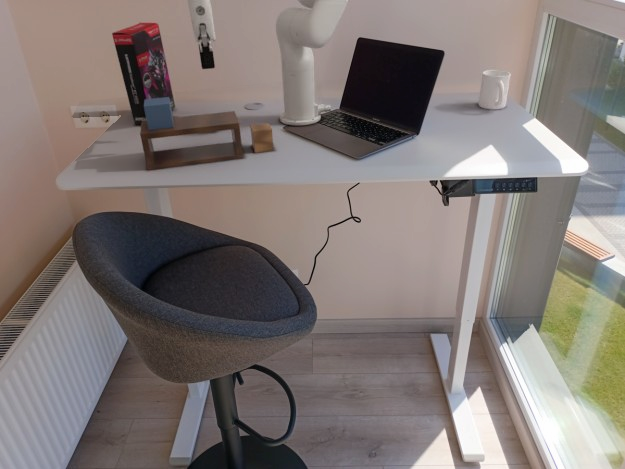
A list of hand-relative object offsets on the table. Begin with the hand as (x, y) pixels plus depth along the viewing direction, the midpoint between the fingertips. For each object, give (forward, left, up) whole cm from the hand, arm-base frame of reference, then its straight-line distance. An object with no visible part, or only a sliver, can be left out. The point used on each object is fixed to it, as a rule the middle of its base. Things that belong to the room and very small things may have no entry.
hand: (207, 64), depth 130 cm
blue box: (+14, +8, -12) cm, 20 cm away
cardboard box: (-11, +8, -22) cm, 25 cm away
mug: (-86, -2, -22) cm, 89 cm away
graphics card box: (+18, -30, -22) cm, 41 cm away
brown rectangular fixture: (+7, +8, -22) cm, 24 cm away
